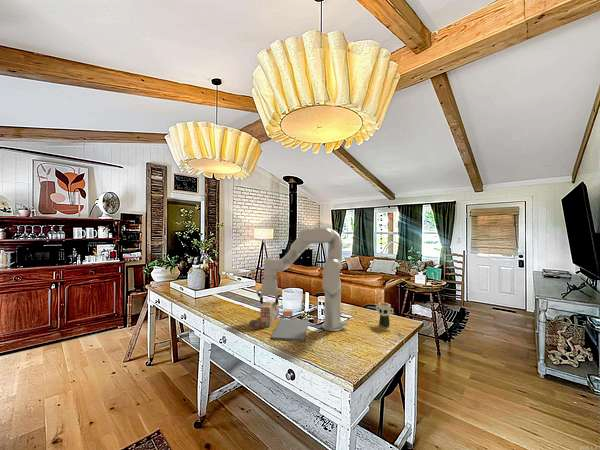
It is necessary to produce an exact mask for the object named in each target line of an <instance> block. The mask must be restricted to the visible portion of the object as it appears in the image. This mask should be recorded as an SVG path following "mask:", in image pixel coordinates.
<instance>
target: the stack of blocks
mask: <svg viewBox="0 0 600 450" xmlns="http://www.w3.org/2000/svg"><path fill="white" fill-rule="evenodd" d="M259 307H260V310H259V311H260V317H259V318H260V320H261V327H260V328H262V327H264V328H271V326H273V324H274V323H275V322H276V320H277V318H278V317H279V316H280V302H279V301H278V304H277V305H275V300H272V301H271V300H270V301H269V300H266V301H265V302H263V303H262V304H261V305H260V306H259Z"/></svg>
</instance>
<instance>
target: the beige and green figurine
mask: <svg viewBox="0 0 600 450" xmlns="http://www.w3.org/2000/svg"><path fill="white" fill-rule="evenodd" d="M375 311H377V312H378V315H380V316H379V321H378V324H379V325H380V326H383V327H389V326H390V317H389V316H390V315H393V314H394V308H392V307H391V304H390V303H388V302H379V303H378V305H375Z"/></svg>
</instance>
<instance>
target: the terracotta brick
mask: <svg viewBox="0 0 600 450" xmlns="http://www.w3.org/2000/svg"><path fill="white" fill-rule="evenodd" d="M286 316H292V317H293V310H292V309H282V317H283V318H284V317H286ZM286 318H287V317H286Z"/></svg>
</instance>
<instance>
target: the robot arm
mask: <svg viewBox="0 0 600 450" xmlns="http://www.w3.org/2000/svg"><path fill="white" fill-rule="evenodd" d="M312 244H327V245H328V246H327V257H326V259H327V260H326V261H324V264H323V270H322V285H321V286H322V287H321V288H322V290H323V292H324V322H323V323H322V324H321V328H322V329H323V330H325V331H327V332H339V331H342V330H343V329H344V326H345V327H348V326H349V322H348V321H347V322H346V321H344V320H342V319H341V315H342V313H341V308H342V307H341V303H342V302H341V301H342V299H341V298H342V297H341V296H342V295H341V294H342V281H341V276H340V274H341V270H342V259H343V258H342V256H343V241H342V238H341V235H340V234H339V233H338V231H336V230H334V229H332V228H329V227H325V228H324V227H323V228H305V229H302V230H301V231H300V233H299V234H298V237H297V238H296V239H295V240H294V241H293V242H292V243H291V245H290V249H289V250H288V252H286V254H285V255H284V256H283V257H282V258H279V259H276V258H271V257H268V258H265V259H264V261H263V262H264V265H263V266H264V267H263V279H262V281H261V282H262V283H261V288H258V289H257V290H256V291H255V292H256V295H257V296H258V297H259V303H260V305H263V304H264V296H265V297H267V296H269V297H274V298H275V300H274V301H275V305H277V304H278V302H279V299H280V297H282V295H283V293H284V292H283V291H282V290H281V289H279V288H278V285H279V284H278V278H279V277H278V275H277V272H284V271H285V270H287V269H289V268H290V267H291V266H292V265H293V264H294V263H295V261H297V260H298V259H299V257H300V256H301V255H302V253H304V252H305V250H307V248H308V247H310V245H312ZM278 293H279V294H278Z"/></svg>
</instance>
